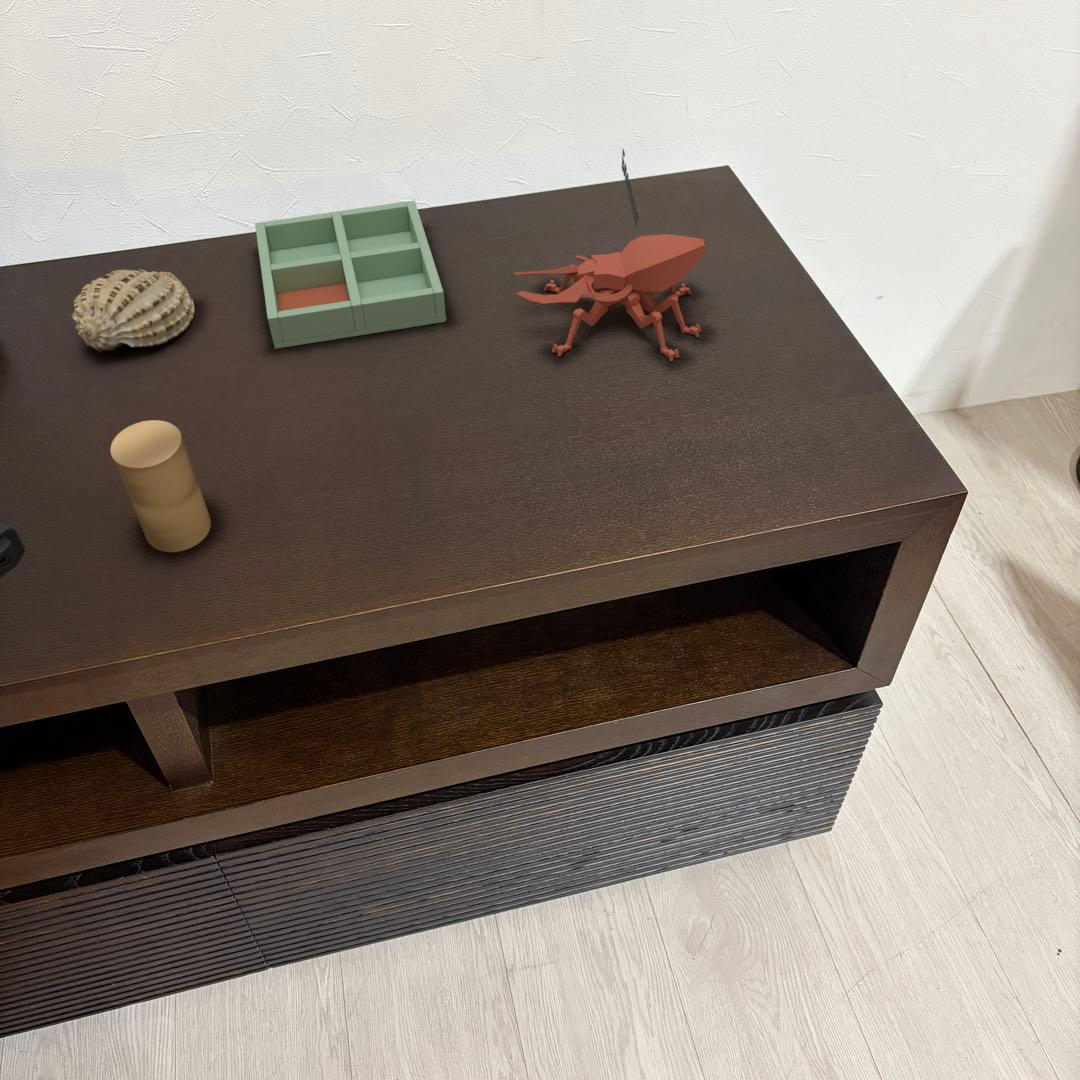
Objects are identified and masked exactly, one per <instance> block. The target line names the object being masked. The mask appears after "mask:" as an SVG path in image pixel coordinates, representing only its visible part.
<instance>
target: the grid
mask: <svg viewBox="0 0 1080 1080" xmlns="http://www.w3.org/2000/svg"><path fill="white" fill-rule="evenodd" d="M254 226H255V234H256V242H257V248H258V257H259V264H260V271H261V272H260V273H261V278H262V280H261V281H262V286H263V287H262V288H263V295H264V302H265V309H266V318H267V323H268V326H269V331H270V334H271V339H272V343H273V346H274V347H273V348H274V349H275V350H277V349H283V348H284V349H285V348H289V347H296V346H302V345H303V346H304V345H309V344H315V343H321V342H328V341H335V340H341V339H346V338H351V337H358V336H365V335H371V334H378V333H383V332H390V331H391V332H392V331H396V330H397V331H398V330H403V329H409V328H415V327H416V328H417V327H422V326H428V325H429V326H430V325H433V324H441V323H446V322H447V314H446V303H445V294H444V289H443V286H442V283H441V279H440V276H439V273H438V269H437V266H436V264H435V260H434V257H433V253H432V251H431V247H430V245H429V242H428V239H427V235H426V232H425V229H424V226H423V222H422V219H421V215H420V213H419V209H418V207H417V202H416V200H409V201H400V202H393V203H385V204H378V205H372V206H366V207H364V206H363V207H359V208H358V207H357V208H352V209H344V210H337V211H331V212H324V213H316V214H309V215H304V216H295V217H287V218H280V219H274V220H267V221H260V222H259V221H258V222H255V223H254Z"/></svg>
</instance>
